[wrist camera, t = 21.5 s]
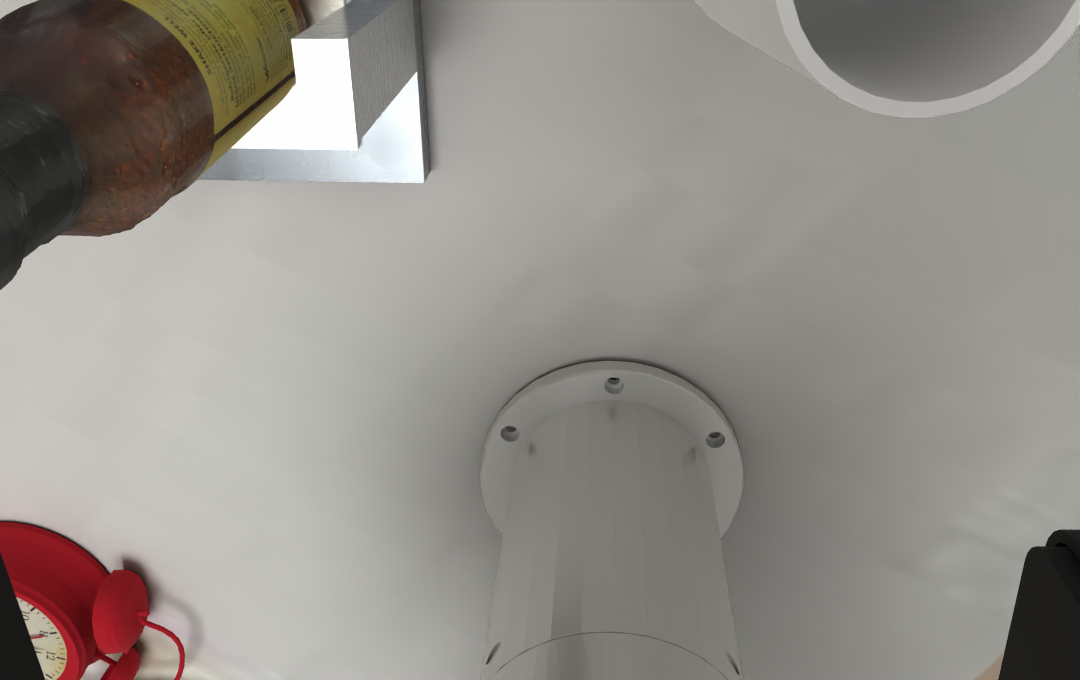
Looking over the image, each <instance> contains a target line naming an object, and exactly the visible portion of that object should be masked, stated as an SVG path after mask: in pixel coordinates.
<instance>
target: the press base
mask: <svg viewBox="0 0 1080 680" xmlns="http://www.w3.org/2000/svg"><path fill="white" fill-rule="evenodd" d="M299 3H300V6H301V9H302V11H303V15H304V17H305V20H306V22H307V29H306V30H305V31H303V32H302V33H300V34H299V35H297V36H295V37H294V38H292V39H291V40H292V48H293V56H294V65H295V73H296V81H295V83H294V85H293V87H292V89H291V90H290V92H289V93H288V94H287V96H286V97H285V98H284V99H283V100H282V101H281V102H280V103H279V104H278V105H277V106H276V107H275V108H274V109H273V110H272V111H271V112H269V113H268V114H267V115H266V116H265V117H264V118H263V119H262V120H261V121H260V122H259V123H258V124H256V125H255V126H254V127H253V128H252V129H251V130H250V131H249V132H248V133H247V134H246V135H245V136H244V137H242V138H241V139H240V140H239V141H238V142H237V143H236V144H235V145H234V146H233V147H232V148H231V149H229V150H228V151H227V152H226V153H225V154H224V155H223V156H222V157H221V158H220V159H219V160H218V161H217V162H215V163H214V164H213V165H212V166H211V167H210V168H209V169H208V170H207V171H206V172H205V173H203V174H202V175H201V176H200V177H199V178H198V179H197V180H252V181H321V182H390V183H424V182H425V181H426V179H427V177H428V175H429V173H430V159H429V143H428V127H427V110H426V94H425V77H424V61H423V44H422V28H421V11H420V0H299Z"/></svg>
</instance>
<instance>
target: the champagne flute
mask: <svg viewBox="0 0 1080 680" xmlns="http://www.w3.org/2000/svg"><path fill="white" fill-rule="evenodd" d="M694 1H695V2H696V3H697V4H698V6H699V7H700V8H701V9H702V10H703V11H704V12H705V13H706V15H707V16H708V17H710V18H711V19H712V20H714V21H715V22H716V23H718V24H719V25H720V26H722V27H723V28H725V29H726V30H727V31H729V32H730V33H732V34H734V35H735V36H737V37H739V38H740V39H742V40H744V41H745V42H747V43H749V44H750V45H752V46H754V47H755V48H757V49H759V50H760V51H762V52H764V53H765V54H767V55H769V56H770V57H772V58H774V59H775V60H777V61H778V62H780V63H782V64H783V65H785V66H787V67H788V68H790V69H792V70H793V71H795V72H797V73H798V74H800V75H802V76H803V77H805V78H807V79H808V80H810V81H812V82H813V83H815V84H817V85H818V86H820V87H822V88H823V89H825V90H827V91H828V92H830V93H832V94H833V95H835V96H837V97H838V98H840V99H842V100H844V101H846V102H848V103H851V104H853V105H855V106H857V107H860V108H862V109H864V110H866V111H869V112H874V113H878V114H883V115H888V116H892V117H897V118H930V117H936V116H942V115H947V114H953V113H959V112H962V111H964V110H967V109H970V108H973V107H975V106H978V105H981V104H984V103H987V102H989V101H991V100H993V99H995V98H997V97H998V96H1000V95H1002V94H1004V93H1006V92H1007V91H1009V90H1011V89H1013V88H1014V87H1016V86H1018V85H1020V84H1021V83H1022V82H1024V81H1025V80H1026V79H1027V78H1029V77H1030V76H1031V75H1032V74H1034V73H1035V72H1036V71H1037V70H1039V69H1040V68H1041V67H1042V66H1044V65H1045V64H1046V63H1047V62H1048V61H1049V60H1050V59H1051V58H1052V57H1053V56H1054V55H1055V54H1056V52H1057V51H1058V50H1059V49H1060V48H1061V47H1062V46H1063V45H1064V44H1065V43H1066V42H1067V40H1068V39H1069V38H1070V37H1071V36H1072V35H1073V33H1074V31H1075V30H1076V28H1077V27H1078V25H1079V24H1080V0H694Z"/></svg>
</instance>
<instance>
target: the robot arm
mask: <svg viewBox="0 0 1080 680" xmlns="http://www.w3.org/2000/svg"><path fill="white" fill-rule="evenodd" d="M612 377H616V378H618V379H616V380H611V379H610V378H612ZM509 426H513V427H509ZM713 432H716V433H713ZM480 486H481V493H482V497H483V500H484V504H485V508H486V510H487V512H488V514H489V516H490V518H491V520H492V522H493V524H494V526H495V528H496V529H497V530H498V531H499V533H500V534H501V535H502V542H501V548H500V554H499V561H498V567H497V574H496V580H495V587H494V593H493V600H492V606H491V613H490V619H489V626H488V632H487V639H486V645H485V652H484V658H483V665H482V671H481V678H480V680H743V679H742V672H741V666H740V660H739V653H738V647H737V640H736V634H735V628H734V621H733V615H732V609H731V602H730V596H729V589H728V583H727V577H726V570H725V564H724V558H723V551H722V545H721V538H722V537H723V535H724V534H725V533H726V532H727V530H728V529H729V528H730V526H731V524H732V522H733V520H734V518H735V515H736V513H737V511H738V509H739V506H740V501H741V497H742V493H743V464H742V459H741V454H740V449H739V445H738V443H737V440H736V437H735V435H734V432H733V429H732V427H731V426H730V424H729V422H728V421H727V419H726V418H725V416H724V415H723V413H722V412H721V410H720V409H719V408H718V407H717V406H716V405H715V404H714V403H713V402H712V401H711V400H710V399H709V398H708V397H707V396H706V395H705V394H704V393H703V392H702V391H700V390H699V389H697V388H696V387H694V386H693V385H691V384H690V383H688V382H687V381H685V380H684V379H682V378H680V377H678V376H675V375H673V374H671V373H669V372H666V371H664V370H662V369H659V368H655V367H651V366H647V365H643V364H638V363H634V362H620V361H599V362H589V363H581V364H577V365H573V366H570V367H566V368H563V369H559V370H556V371H554V372H552V373H550V374H548V375H546V376H543V377H541V378H539V379H537V380H535V381H533V382H532V383H531V384H529V385H528V386H527V387H525V388H524V389H523V390H521V391H520V392H518V393H517V394H516V395H515V396H514V397H513V398H512V399H511V400H510V401H509V402H508V403H507V405H506V406H505V407H504V408H503V409H502V410H501V411H500V413H499V414H498V416H497V418H496V419H495V421H494V423H493V425H492V426H491V428H490V430H489V433H488V436H487V439H486V442H485V445H484V449H483V454H482V460H481V466H480ZM0 680H45V677H44V674H43V671H42V668H41V666H40V663H39V660H38V657H37V654H36V651H35V649H34V646H33V643H32V640H31V637H30V634H29V632H28V629H27V626H26V623H25V620H24V617H23V615H22V612H21V609H20V606H19V603H18V600H17V598H16V595H15V592H14V589H13V586H12V583H11V581H10V578H9V575H8V572H7V569H6V566H5V564H4V561H3V558H2V555H1V552H0ZM998 680H1080V530H1057V531H1054V532H1053V533H1052V534H1051V536H1050V537H1049V538H1048V541H1047V543H1046V546H1045V547H1033V548H1031V549H1030V550H1029V552H1028V553H1027V556H1026V559H1025V563H1024V567H1023V572H1022V576H1021V581H1020V585H1019V589H1018V594H1017V598H1016V603H1015V607H1014V612H1013V616H1012V621H1011V625H1010V630H1009V634H1008V639H1007V643H1006V648H1005V652H1004V657H1003V661H1002V666H1001V670H1000V675H999V679H998Z"/></svg>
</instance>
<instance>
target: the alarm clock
mask: <svg viewBox="0 0 1080 680" xmlns="http://www.w3.org/2000/svg"><path fill="white" fill-rule="evenodd" d="M0 552H1V555H2V558H3V561H4V564H5V566H6V569H7V572H8V575H9V578H10V581H11V583H12V586H13V589H14V592H15V595H16V598H17V600H18V603H19V606H20V609H21V612H22V615H23V617H24V620H25V623H26V626H27V629H28V632H29V634H30V637H31V640H32V643H33V646H34V649H35V651H36V654H37V657H38V660H39V663H40V666H41V668H42V671H43V674H44V677H45V680H80V679H81V677H82V676H83V674H84V672H85V670H86V668H87V667H88V665H90V664H92V663H94V662H96V661H98V660H99V659H101V660H103V661H105V662H107V663H109V664H110V666H109V667H108V669H107V670H106V672H105V673H104V675H103V676H102V678H101V679H100V680H133V679H134V677H135V675H136V673H137V671H138V668H139V663H140V656H139V654H138V652H137V650H135V649H134V648H133V647H132V646H133V645H134V644H135V642H136V641H137V640H138V638H139V637H140V635H141V633H142V632H143V629H144V626H145V625H146V626H148V627H151V628H153V629H156V630H158V631H161V632H163V633H165V634H166V635H168V636H169V637H171V638H172V639H173V641H174V642H175V643H176V644H177V646H178V650H179V653H180V664H179V670H178V673H177V675H176V677H175V679H174V680H180V678H181V676H182V672H183V669H184V662H185V653H184V648H183V645H182V643H181V641H180V640H179V638H178V637H177V636H176V635H175V634H174V633H173V632H171V631H169V630H168V629H166V628H164V627H162V626H160V625H157V624H154V623H152V622H149V621H147V616H148V615H149V614H150V611H149V610H148V605H149V598H148V594H147V590H146V587H145V584H144V582H143V580H142V578H141V577H140V576H139V575H137V574H136V573H135V572H132V571H129V570H114V571H113V572H112V573H110V574H109V575H108V573H107V572H106V571H105V570H104V568H103V567H102V566H101V565H100V564H99V563H98V562H97V561H96V560H95V559H94V558H93V557H92V556H91V555H89V554H88V553H87V552H86V551H85V550H83V549H82V548H80V547H79V546H77V545H76V544H74V543H72V542H71V541H69V540H67V539H65V538H63V537H61V536H59V535H57V534H55V533H52V532H50V531H47V530H44V529H41V528H38V527H34V526H30V525H25V524H20V523H11V522H0ZM120 652H123V654H122V656H121V658H120V659H119V661H118V663H117V662H116V661H114V660H112V659H111V658H109V657H107V656H105V655H106V654H114V653H120Z"/></svg>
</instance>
